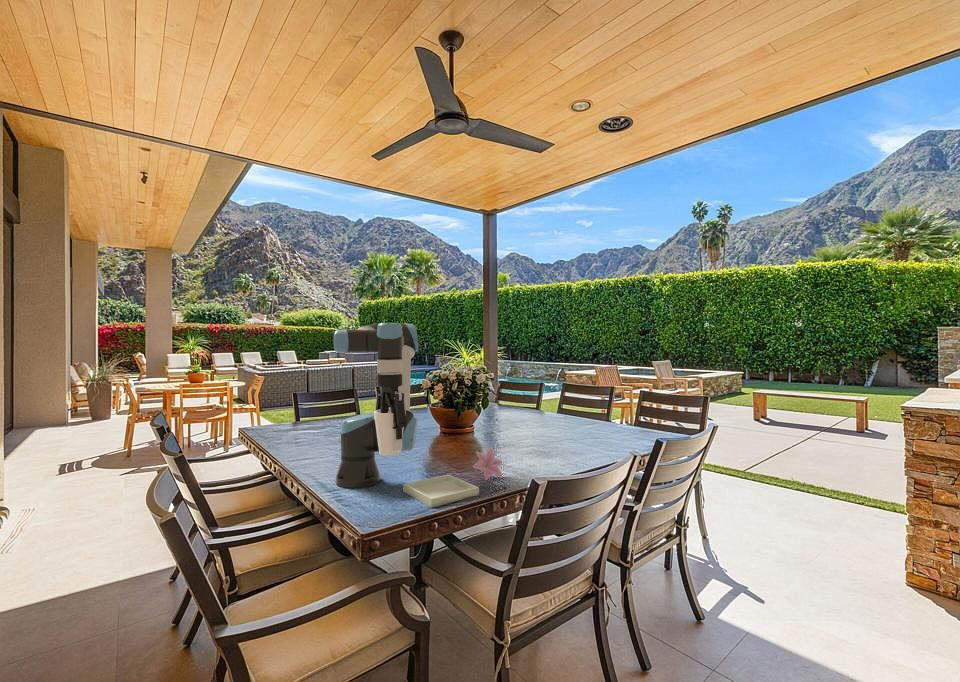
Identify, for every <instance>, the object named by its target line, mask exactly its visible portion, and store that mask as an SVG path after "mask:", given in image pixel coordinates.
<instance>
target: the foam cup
mask: <svg viewBox="0 0 960 682" xmlns="http://www.w3.org/2000/svg"><path fill="white" fill-rule="evenodd" d="M373 415H374V420H375V425H376V432H377V439H378V447H379V452H378V454H379V455H380V456H384V457H393V456H398V455H400V454H401V453H402V452H401V450H395V451H394V450H393V427H394V423H393V413H391V409H389V410H388V413H381V410H376V409H375V410H374V411H373ZM405 415H406V410H405ZM403 430H404V427H403V428H402V438H403Z"/></svg>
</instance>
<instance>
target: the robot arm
mask: <svg viewBox="0 0 960 682" xmlns="http://www.w3.org/2000/svg"><path fill="white" fill-rule="evenodd" d="M417 331H418V330H417V326H416V325H415V324H413V323H406V322H405V323H399V322H381V323H372V324H367V325H362V326H360V327H358V328H355V329H345V328H344V329H337V330H335V331H334V332H333V333H334V334H333V339H332V340H333V350H334V352H335V353H339V354H361V353H362V354H363V353H364V354H366V353H367V354H369V353H370V354H371V353H372V354H377V358H376V365H377V366H376V368H377V369H376V372H377V373H378V374H377V383H376V384H377V386H378V387H379V388H381V389H376V403H375V411H376V410H381V413H388V410H389V409H391V413H393V423H394V427H393V450H394V451H395V450H401V453H402V452H406V451H408V452H409V451H411V450H413V449H414V447H415V443H416V439H417V432H418V430H417V429H418V419H417V417H414V412H412V411H411V410H410V409H411V373H412V372H411V371H412V370H411V368H412V367H411V366H412V360H411V359H413V357H414V356H415V354H416V352H419V340H418V332H417ZM405 410H406V415H405ZM340 425H341V427H340V464H339V466H338V469H337V472H336V476H335V484H336V486H338V487H341V488H351V489H358V488H365V487H369V486H373V485H376V484H377V483H379V481H380V479H381V477H380V476H381V474H380V470H379V467H378V464H377V462H376V459H375V458H376V456H375V455H376V454H375V453H376V452H378V453H379V447H378V439H377V432H376V425H375V420H374V413H372V414H371V413H370V414H369V413H367V414H366V413H365V414H359V415H355V416H354V415H353V416H349V417H347V418H345V419H343V420H342V422H341V424H340ZM403 427H404V430H403V438H402V428H403Z"/></svg>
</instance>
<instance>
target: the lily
mask: <svg viewBox="0 0 960 682" xmlns="http://www.w3.org/2000/svg"><path fill="white" fill-rule="evenodd" d="M475 453H476V455H477V458H478V461H477V462H476V463H474V464H473V466H472V467H473V468H474V469H477V470H481V471H482V472H481V474H483V475H484V480H485V481H488V480H489V478H490V476H491V474H492V475H495V476H496V477H498V478H501V479H503V473H502V472H501V469H500V468H499V466H500V465H501V464H502V463H503V460H501V459H497V458H496V456H495V451H494V449H493V447H492V446H490V447H489V449H488V450H487V451H486V453H485V454H484V453H482V452H481V451H476V452H475Z"/></svg>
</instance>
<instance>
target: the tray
mask: <svg viewBox="0 0 960 682" xmlns="http://www.w3.org/2000/svg"><path fill="white" fill-rule="evenodd" d="M402 490H403V493H405V494H406V495H408V496H410V497H411V498H413V499H416V500H418V501H419V502H421V503H423V504H425V505H426V506H428V507H430V508H434V507H439V506H442V505H446V504H451V503H454V502H457V501H462V500H465V499H469V498H473V497H477V496H479V495H480V487H479V486H476V485H474V484H472V483H469V482H467V481H465V480H462V479H461V478H458V477H456V476H452V475H451V474H445V475H440V476H434V477H429V478H426V479H422V480H417V481H411V482H406V483H403V484H402Z"/></svg>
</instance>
